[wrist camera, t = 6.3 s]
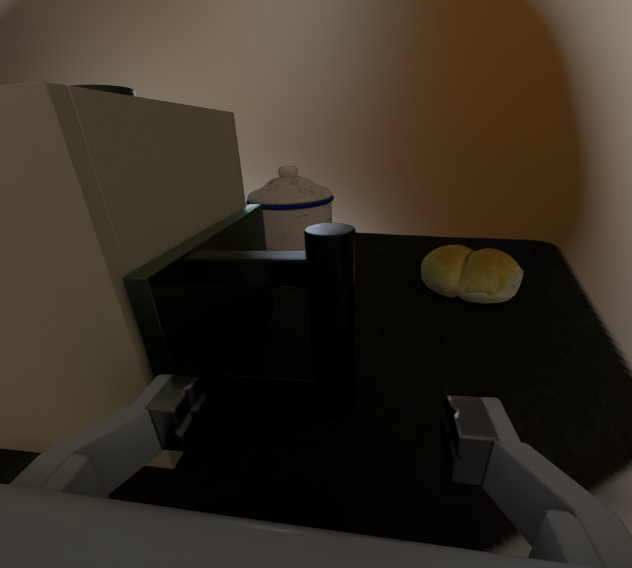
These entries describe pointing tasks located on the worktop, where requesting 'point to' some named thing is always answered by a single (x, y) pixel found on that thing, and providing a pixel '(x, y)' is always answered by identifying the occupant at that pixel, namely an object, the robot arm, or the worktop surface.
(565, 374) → the worktop surface
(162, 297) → the door with handle
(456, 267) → the bread roll
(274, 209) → the enamel mug with lid
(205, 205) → the cube with dark spot
